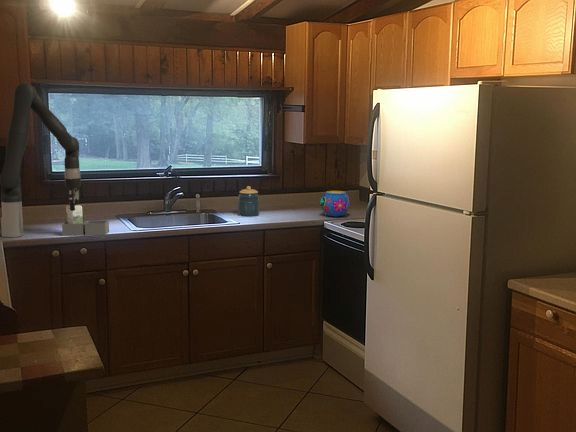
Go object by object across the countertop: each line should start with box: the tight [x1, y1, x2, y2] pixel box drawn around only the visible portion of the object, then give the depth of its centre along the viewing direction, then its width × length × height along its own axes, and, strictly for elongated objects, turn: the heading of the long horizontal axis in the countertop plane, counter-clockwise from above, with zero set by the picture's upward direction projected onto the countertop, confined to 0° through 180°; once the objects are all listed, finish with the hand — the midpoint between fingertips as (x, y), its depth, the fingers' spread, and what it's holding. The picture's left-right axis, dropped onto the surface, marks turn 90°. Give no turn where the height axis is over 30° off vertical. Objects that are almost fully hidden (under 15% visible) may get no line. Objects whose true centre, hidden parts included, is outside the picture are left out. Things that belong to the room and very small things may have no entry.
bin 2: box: [84, 219, 110, 237], centre depth 331 cm, size 10×10×6 cm
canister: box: [237, 185, 260, 217], centre depth 394 cm, size 13×13×18 cm
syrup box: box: [65, 204, 84, 224], centre depth 329 cm, size 6×6×14 cm
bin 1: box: [61, 220, 88, 237], centre depth 330 cm, size 10×10×6 cm
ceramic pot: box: [319, 190, 351, 218], centre depth 392 cm, size 18×18×15 cm
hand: (74, 209), depth 328 cm, fingers open, 8 cm apart
